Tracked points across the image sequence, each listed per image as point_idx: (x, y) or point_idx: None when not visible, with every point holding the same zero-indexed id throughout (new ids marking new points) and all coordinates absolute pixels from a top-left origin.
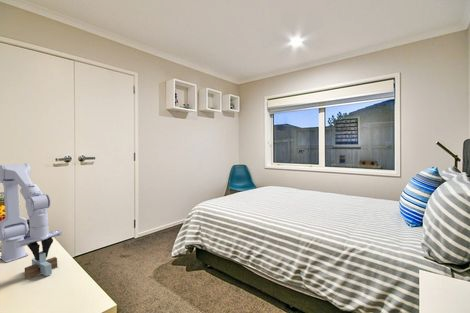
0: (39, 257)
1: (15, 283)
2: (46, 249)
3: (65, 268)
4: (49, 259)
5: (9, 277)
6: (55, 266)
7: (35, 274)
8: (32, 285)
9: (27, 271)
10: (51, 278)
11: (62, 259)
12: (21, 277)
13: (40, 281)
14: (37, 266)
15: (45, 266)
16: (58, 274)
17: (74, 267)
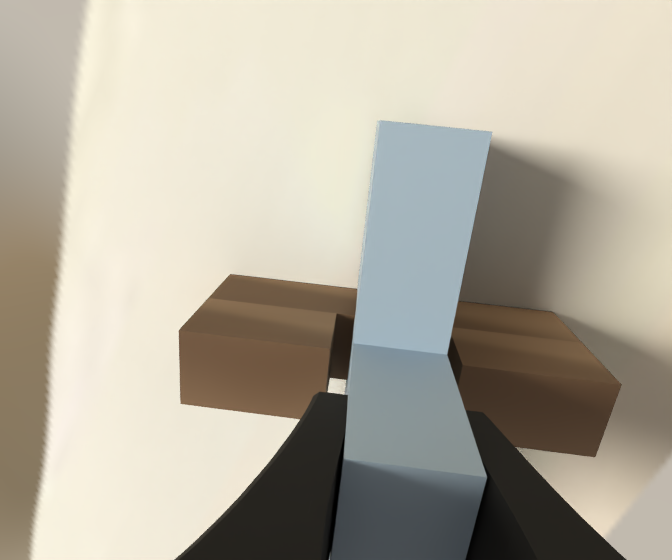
0: (468, 434)
1: (655, 340)
2: (312, 521)
3: (194, 131)
4: (269, 387)
5: None
6: (246, 283)
7: (471, 310)
8: (654, 68)
9: (591, 359)
10: (441, 8)
11: (105, 416)
12: None
13: (546, 79)
14: (465, 353)
15: (485, 132)
16: (332, 36)
17: (111, 23)
